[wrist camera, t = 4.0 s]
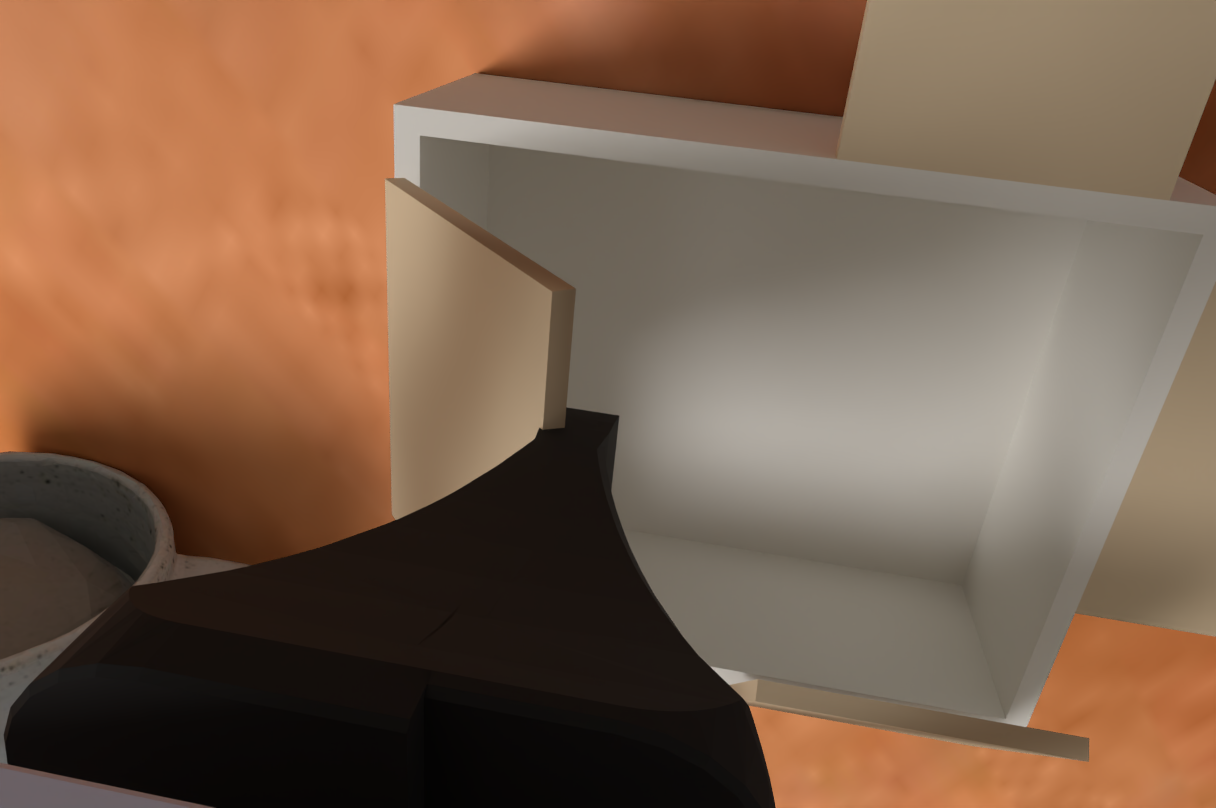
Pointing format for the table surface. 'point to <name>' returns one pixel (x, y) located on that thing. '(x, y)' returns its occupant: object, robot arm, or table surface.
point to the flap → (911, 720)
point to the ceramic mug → (73, 557)
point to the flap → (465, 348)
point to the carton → (888, 338)
